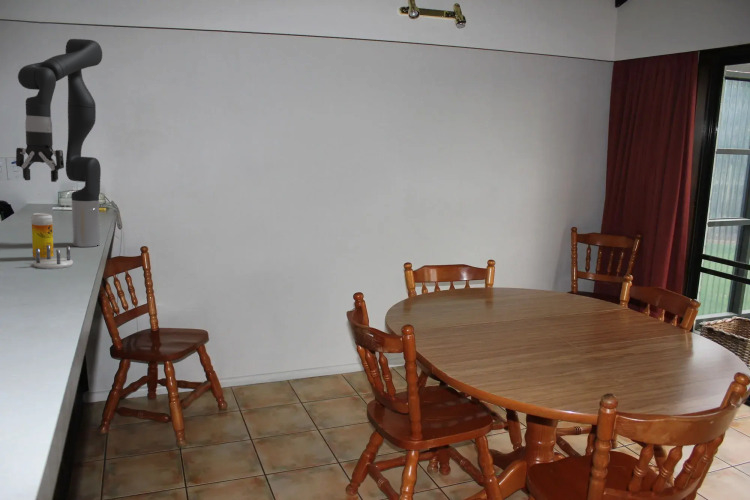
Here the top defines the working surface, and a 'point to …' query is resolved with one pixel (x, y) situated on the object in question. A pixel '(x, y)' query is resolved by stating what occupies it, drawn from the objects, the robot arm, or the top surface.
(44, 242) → the beer can
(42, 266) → the pin tray
